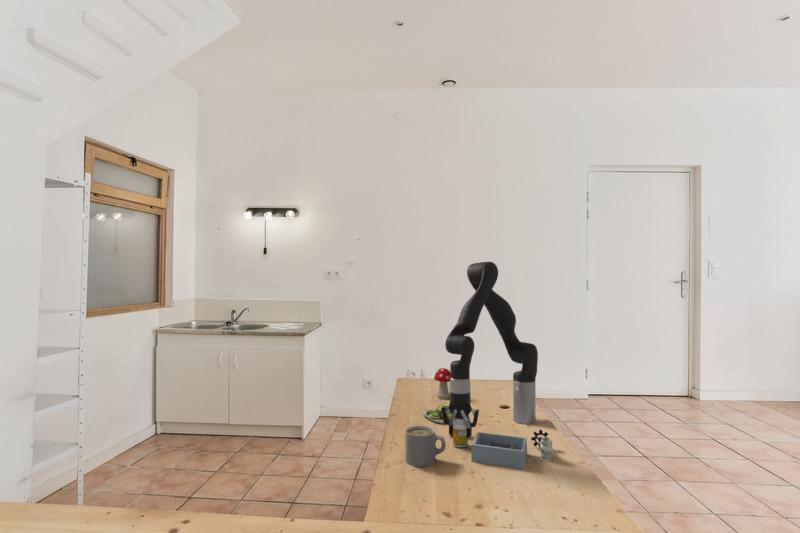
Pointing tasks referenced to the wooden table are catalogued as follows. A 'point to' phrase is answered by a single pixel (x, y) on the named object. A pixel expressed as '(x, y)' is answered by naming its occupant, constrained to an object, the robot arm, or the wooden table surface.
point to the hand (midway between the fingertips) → (460, 436)
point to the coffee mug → (422, 446)
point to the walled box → (499, 450)
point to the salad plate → (437, 414)
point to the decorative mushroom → (443, 383)
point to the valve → (544, 445)
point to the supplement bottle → (460, 433)
